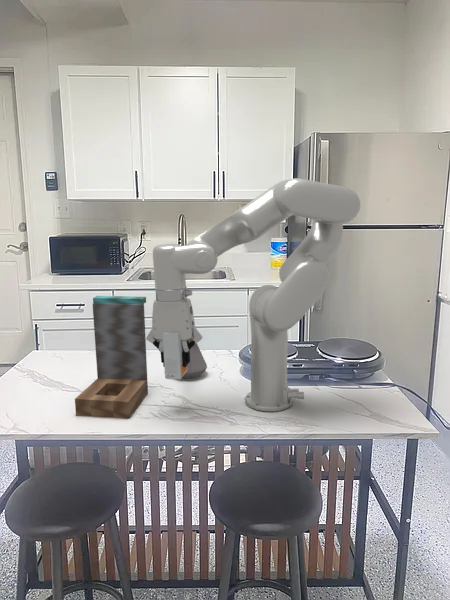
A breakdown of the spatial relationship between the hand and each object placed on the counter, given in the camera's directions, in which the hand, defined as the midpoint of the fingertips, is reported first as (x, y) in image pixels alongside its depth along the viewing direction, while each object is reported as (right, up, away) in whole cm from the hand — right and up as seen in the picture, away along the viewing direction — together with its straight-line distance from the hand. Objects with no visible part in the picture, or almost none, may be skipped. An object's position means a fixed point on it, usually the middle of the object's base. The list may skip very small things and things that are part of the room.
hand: (176, 364), depth 114 cm
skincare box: (0, -3, +1) cm, 3 cm away
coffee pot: (+1, -8, +22) cm, 23 cm away
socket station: (-17, -11, +7) cm, 22 cm away
